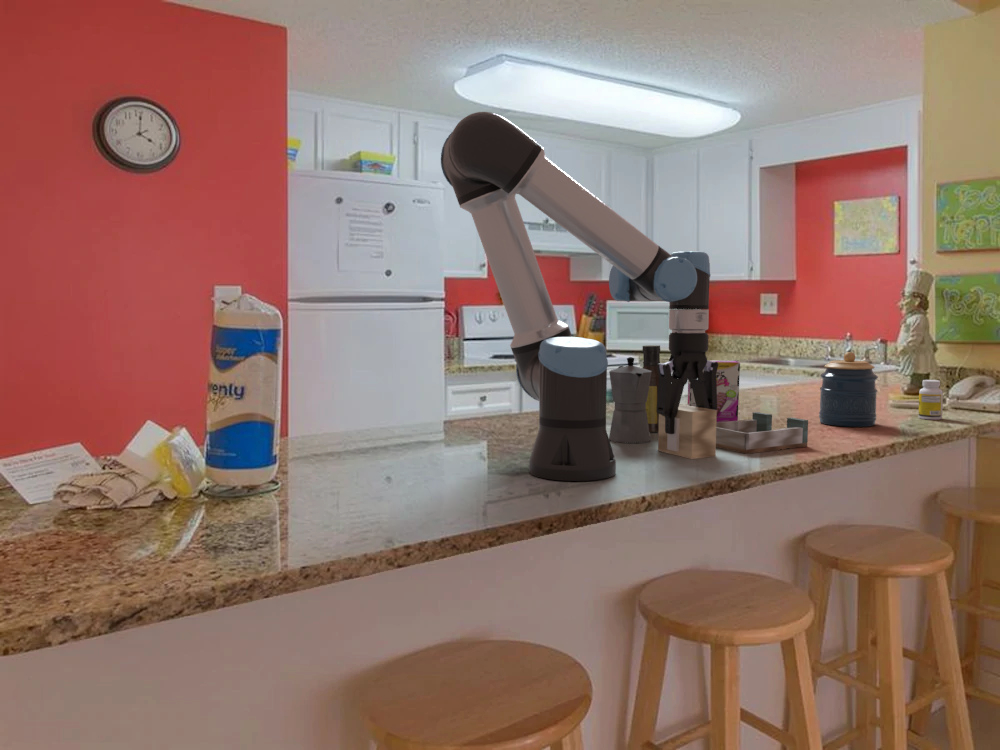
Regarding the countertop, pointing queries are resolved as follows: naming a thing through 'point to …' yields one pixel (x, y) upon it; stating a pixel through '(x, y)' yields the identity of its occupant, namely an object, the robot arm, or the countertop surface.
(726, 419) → the candy bar box
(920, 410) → the supplement bottle
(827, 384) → the canister
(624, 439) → the coffeepot
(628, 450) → the countertop surface
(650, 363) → the sauce bottle
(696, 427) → the tan rectangular block
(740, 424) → the grey open tray
